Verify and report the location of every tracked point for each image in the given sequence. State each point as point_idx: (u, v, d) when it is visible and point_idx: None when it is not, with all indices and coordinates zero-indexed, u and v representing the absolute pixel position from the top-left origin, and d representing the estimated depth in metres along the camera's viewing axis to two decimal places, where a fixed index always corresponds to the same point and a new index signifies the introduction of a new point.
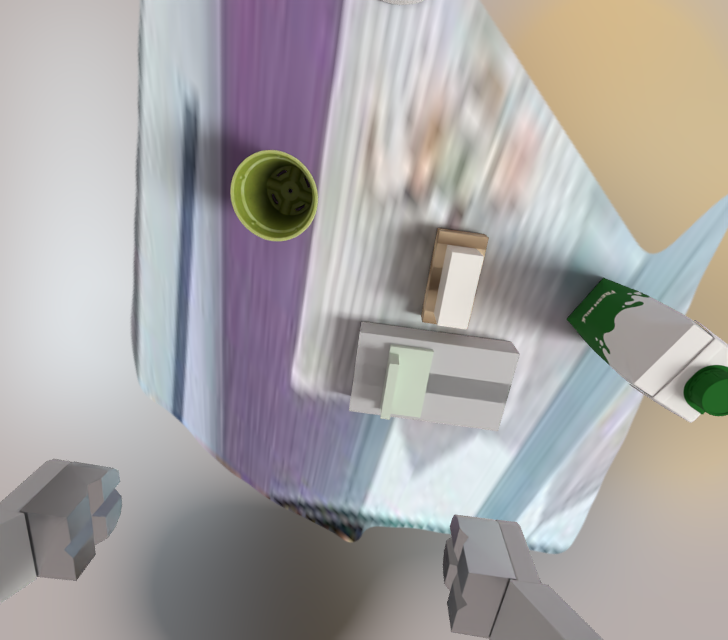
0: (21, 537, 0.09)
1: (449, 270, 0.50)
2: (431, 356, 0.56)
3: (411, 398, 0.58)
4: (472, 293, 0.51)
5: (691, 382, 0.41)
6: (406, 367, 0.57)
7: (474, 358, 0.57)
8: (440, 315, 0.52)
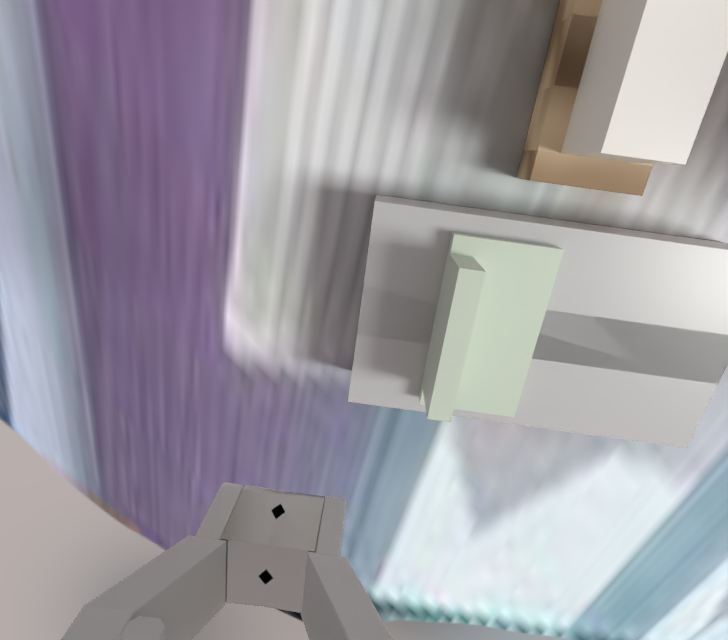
0: (222, 565, 0.09)
1: None
2: (557, 261, 0.22)
3: (497, 371, 0.24)
4: (723, 38, 0.17)
5: None
6: (490, 292, 0.23)
7: (659, 269, 0.23)
8: (613, 119, 0.18)
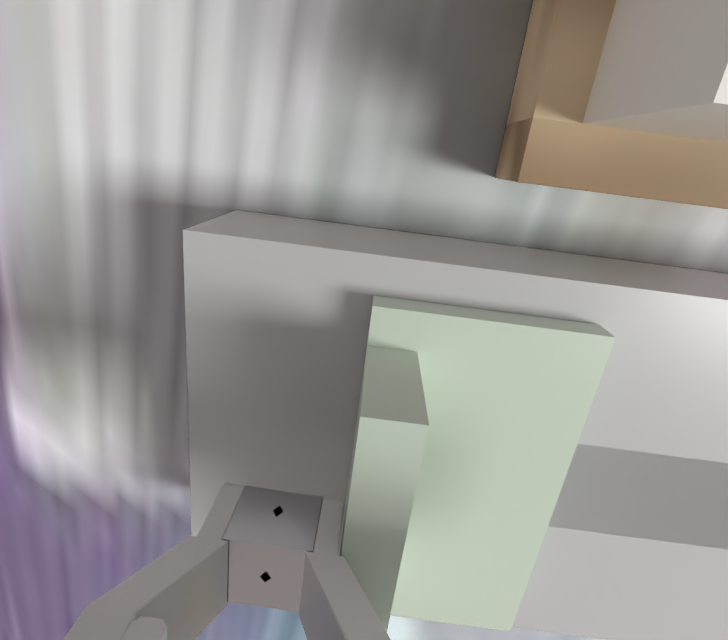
0: (223, 565, 0.09)
1: None
2: (599, 362, 0.10)
3: (475, 558, 0.12)
4: None
5: None
6: (457, 420, 0.11)
7: None
8: None
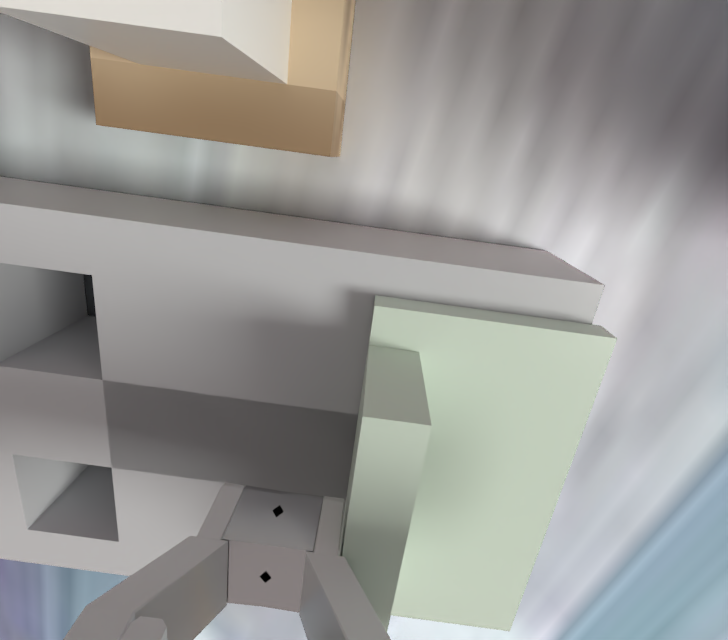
0: (223, 565, 0.09)
1: None
2: (600, 363, 0.10)
3: (475, 558, 0.12)
4: None
5: None
6: (458, 420, 0.11)
7: (362, 311, 0.11)
8: None
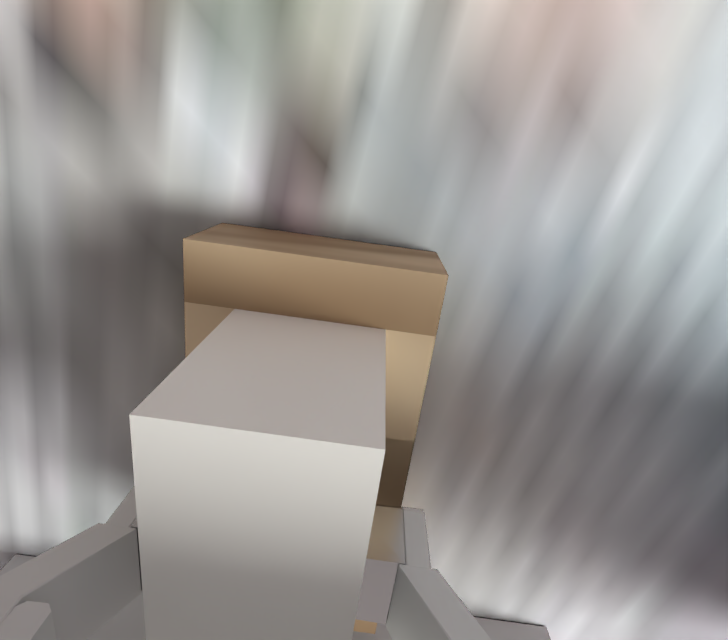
0: (132, 552, 0.09)
1: (145, 529, 0.07)
2: None
3: None
4: None
5: None
6: None
7: None
8: None
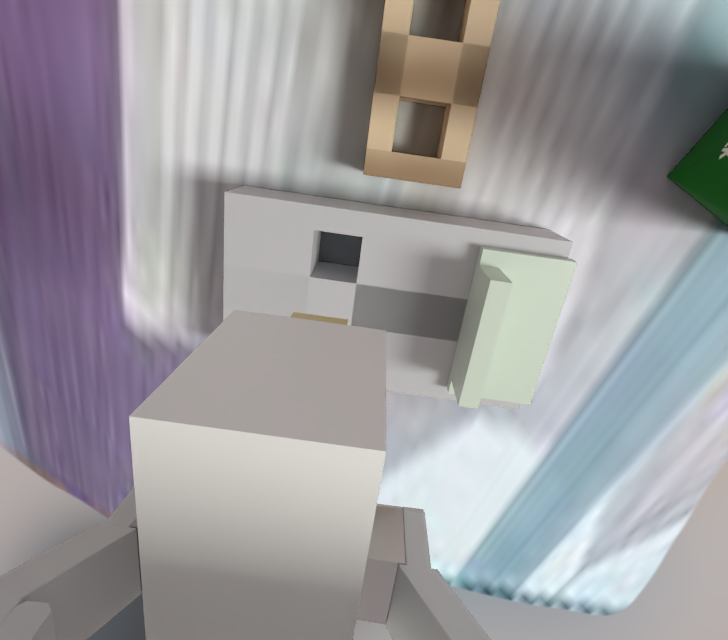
0: (132, 552, 0.09)
1: (145, 531, 0.07)
2: (570, 272, 0.26)
3: (516, 365, 0.28)
4: None
5: None
6: (513, 297, 0.27)
7: (473, 252, 0.27)
8: None
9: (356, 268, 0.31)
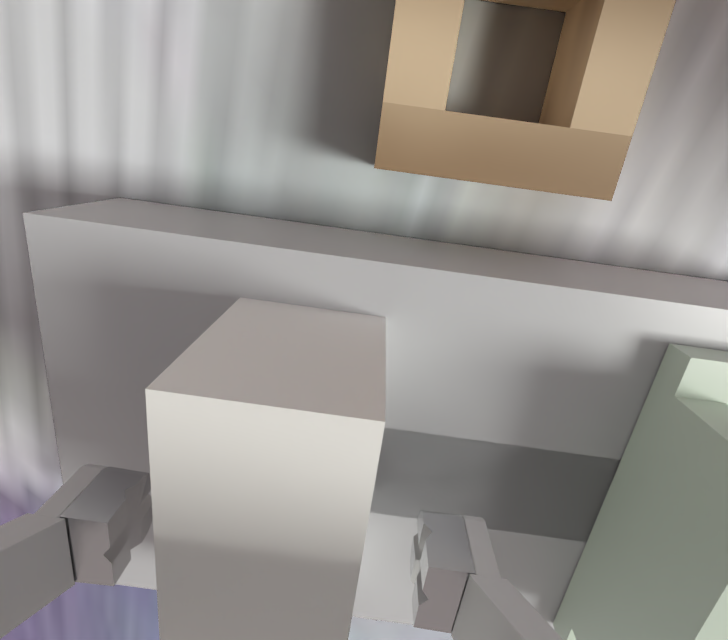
0: (61, 542, 0.09)
1: (158, 500, 0.07)
2: None
3: None
4: (331, 624, 0.08)
5: None
6: None
7: (647, 358, 0.11)
8: None
9: None
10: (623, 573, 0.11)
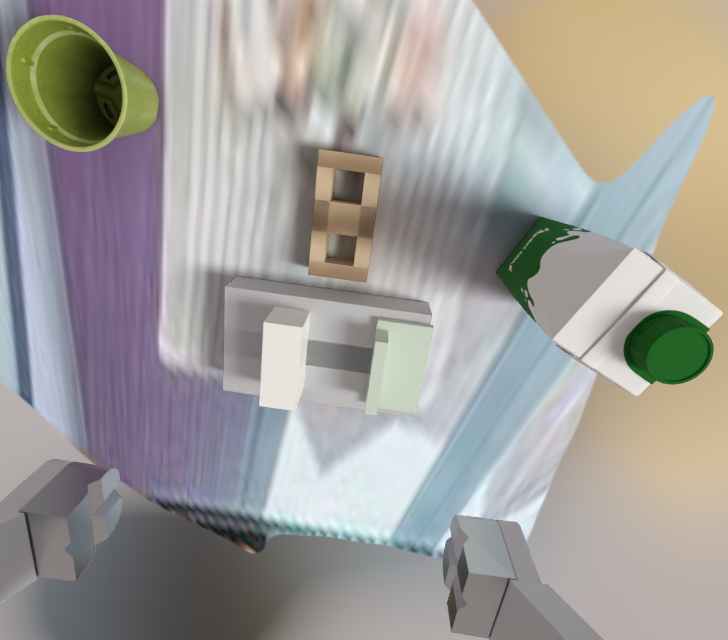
0: (21, 537, 0.09)
1: (263, 343, 0.41)
2: (430, 333, 0.43)
3: (405, 388, 0.46)
4: (295, 370, 0.41)
5: (633, 337, 0.29)
6: (398, 348, 0.44)
7: (374, 321, 0.44)
8: (261, 394, 0.43)
9: None
10: None
